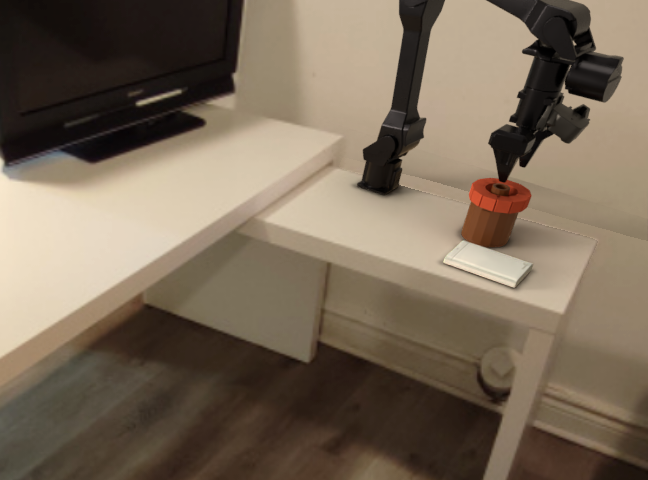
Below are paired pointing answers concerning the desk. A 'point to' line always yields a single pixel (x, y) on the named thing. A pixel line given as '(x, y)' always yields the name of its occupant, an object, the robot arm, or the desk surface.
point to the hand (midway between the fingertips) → (512, 174)
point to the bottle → (489, 223)
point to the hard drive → (488, 263)
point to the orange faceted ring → (496, 203)
